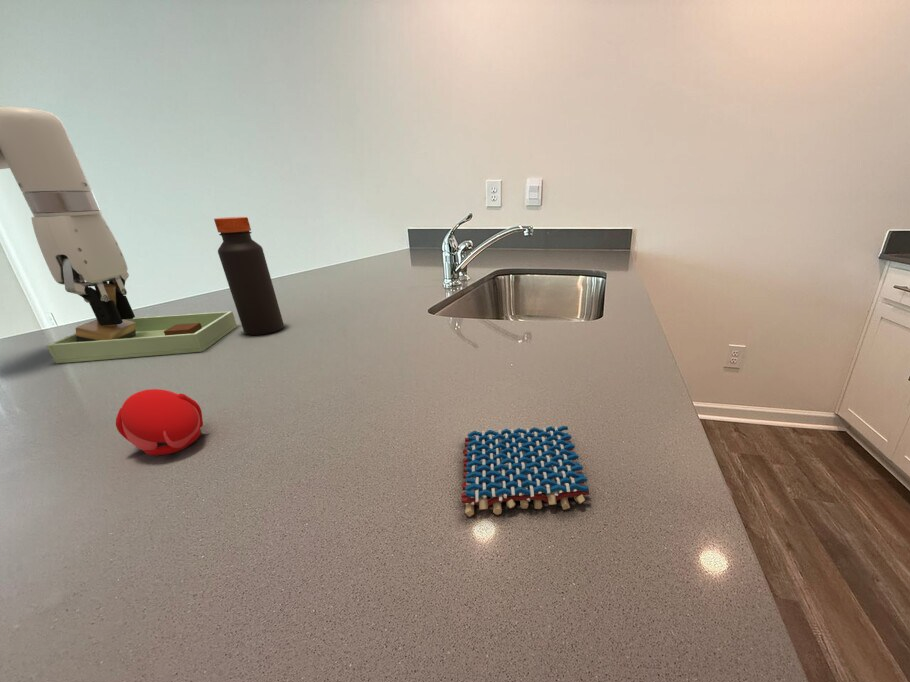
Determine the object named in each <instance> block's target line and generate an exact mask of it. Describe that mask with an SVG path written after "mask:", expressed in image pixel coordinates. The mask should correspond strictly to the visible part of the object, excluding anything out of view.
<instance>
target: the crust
mask: <svg viewBox="0 0 910 682" xmlns="http://www.w3.org/2000/svg"><path fill="white" fill-rule="evenodd" d="M200 329H202V326H201V324H200V323H190V324H176V325H174V326H172V327H171V328H169V329H167V330H165V331H164V333H165V336H166V335H180V334H194V333H195V332H197V331H199V330H200Z"/></svg>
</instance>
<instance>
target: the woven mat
mask: <svg viewBox="0 0 910 682" xmlns="http://www.w3.org/2000/svg"><path fill="white" fill-rule="evenodd" d="M568 430H569V426H568V425H562V426H555V427H554V426H552V425H550V424H549V425H547V427H542V429H541V428H538V427H536V425H534V426H533V425H532V428H526V429H524V428H523V427H518V428H516V429H513V428H511V429H508V427H504V429H503V430H501V429H498V431H495V430H493V429H492V428H489V429H488V430H487V431H485V430H482V431H481V432H480V430H478V429H477V430H472V431H471V432H469V433H467V437H464V447H465V448H463V450H462V453H463V454H464V455H463V456H464V457H465V458H462V463H463V468H462V470H463V472H462V478H463V479H465V481H463V482H462V483H461V486H462V488H461V489H462V491H465V492H463V493H461V496H460V497H461V504H465V509H464V510H465V511H464V513H465V515H466V516H467V517H469V518H470V517H472V516H473V515H475V505H476V506H478V509H479V510H488V509H489V507H490V506H492V513H494V514H495V515H496V516H499V515H501V514H502V511H503V510H502V503H503V502H506V507H507V508H509V509H513V508H515V506H516V502H517V501H519V504H520V506H519V507H520V508H521V509H523V510H525V509H528V507H529V502H531V500H532V501H533V506H534V509H536V510H541V509H542V508H543V502H545V503H548V505H549V506H550V505H552V506H553V505H557V501H559V500H560V506H561V508H562V510H563V511H564V510H569V509H570V508H571V506H570V503H569V498H573V499H574V501H575V502H576V503H578V504H582V503H584V501H586V500H585V497H584V496H589V495H590V489H589V486H588V485H584V484H585V483H587V482H588V477H587V476H585V475H584V473H583V469H584V466H583V464H580V462H579V461H576V460H578V459H579V457H580V456H579V454H578V453H576V451H574V449H575V448H576V445H575V444H574V443H573V442H572V435H571V434H569V432H563V431H568ZM542 493H544V494H542ZM488 497H489V498H488ZM515 501H516V502H515Z"/></svg>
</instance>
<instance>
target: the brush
mask: <svg viewBox="0 0 910 682" xmlns="http://www.w3.org/2000/svg"><path fill="white" fill-rule="evenodd" d="M103 285H104V288H105V290H106V292H107V295H108V297H109V300H113V301H114V303H115V305H116V287H115V286H114V285H112V284H109V283H108V284H107V283H103ZM94 290H96V289H95V288H94ZM122 321H123V323H121V324H117V325H100V324H99V322H98V320H97V318H95V319H94V320H91V321H88V322H86V323H84V324H82V325H78V326H76V327H75V333H76V339H77V342H86V341H99V340H112V339H126V338H132V337H134V336H136V322H132V321H127V320H122Z"/></svg>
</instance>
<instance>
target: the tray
mask: <svg viewBox="0 0 910 682" xmlns="http://www.w3.org/2000/svg"><path fill="white" fill-rule="evenodd" d="M123 320H127V321H132V322H136V336H134V337H132V338H126V339H112V340H99V341H86V342H77V339H76V332H75V333H72V334H70V335H68V336H65V337H62V338H60V339H57V340H56V341H54V342H50V343H48V344H46V345H45V346H46V348H47V350H48V352H49V354H50V355H51V357H52V359H53V361H54V362H55V364H68V363H79V362H81V363H82V362H89V361H90V362H92V361H94V362H95V361H103V360H116V359H128V358H130V359H131V358H143V357H153V356H165V355H178V354H179V355H180V354H190V353H191V354H192V353H202V352H204V351H206V350H207V349H208V348H210V347H211V346H212V345H214V344H215V343H216V342H218V341H219V340H221V339H222V338H223V337H225V336H226V335H228V334H229V333H231V332H232V331H233V330H235V329H236V328H237V327H238V324H237V321H236V319H235V315H234V312H233V311H232V310H231V311H215V312H202V313H201V312H199V313H185V314H171V315H156V316H143V317H141V316H140V317H135V318H133V319H123ZM190 323H200V324H201V326H202V329H200V330H199V331H197V332H195V333H194V334H180V335H166V336H165V333H164V331H165V330H167V329H169V328H171V327H172V326H174V325H176V324H190Z"/></svg>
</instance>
